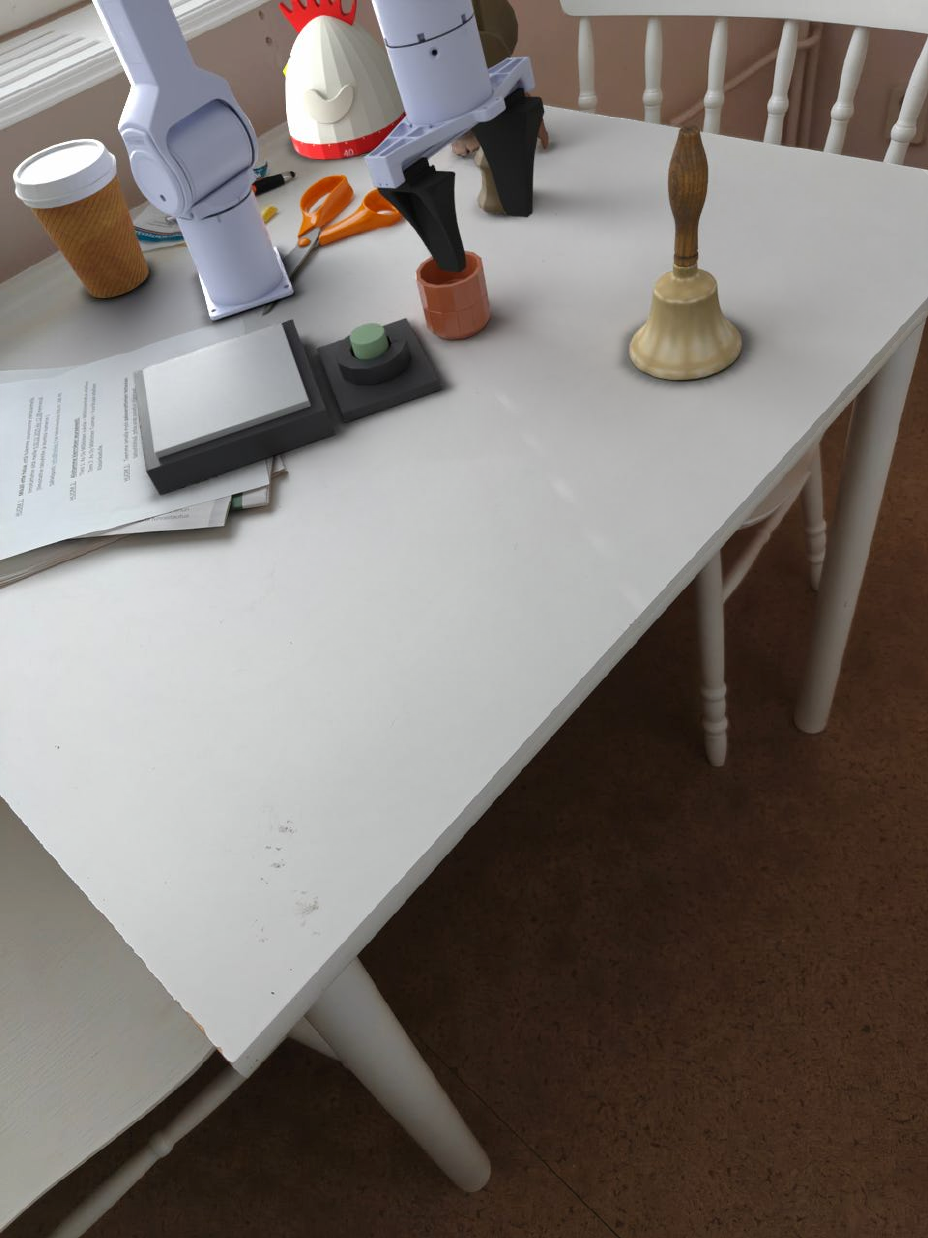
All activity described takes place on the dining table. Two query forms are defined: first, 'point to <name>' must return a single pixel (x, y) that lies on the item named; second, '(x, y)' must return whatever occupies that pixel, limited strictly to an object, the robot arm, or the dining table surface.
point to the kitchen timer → (337, 84)
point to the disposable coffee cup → (84, 214)
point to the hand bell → (686, 285)
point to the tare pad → (378, 373)
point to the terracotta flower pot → (454, 298)
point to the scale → (228, 406)
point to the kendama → (497, 45)
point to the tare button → (369, 341)
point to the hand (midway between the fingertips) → (487, 240)
